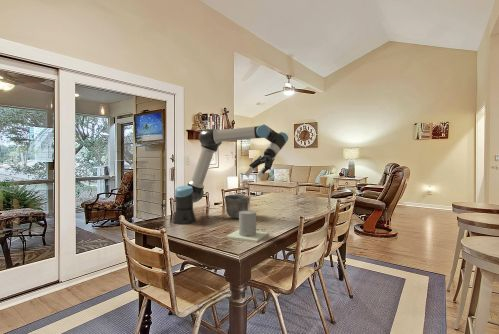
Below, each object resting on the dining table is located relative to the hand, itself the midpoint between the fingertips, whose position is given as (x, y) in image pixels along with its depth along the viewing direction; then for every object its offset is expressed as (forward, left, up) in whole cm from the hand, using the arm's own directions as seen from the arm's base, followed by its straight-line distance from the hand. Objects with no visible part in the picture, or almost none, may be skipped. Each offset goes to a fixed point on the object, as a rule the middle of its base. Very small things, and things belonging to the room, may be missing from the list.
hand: (252, 176), depth 170 cm
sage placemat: (+6, -19, -31) cm, 37 cm away
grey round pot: (-21, +17, -32) cm, 42 cm away
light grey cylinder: (+6, -19, -31) cm, 36 cm away
